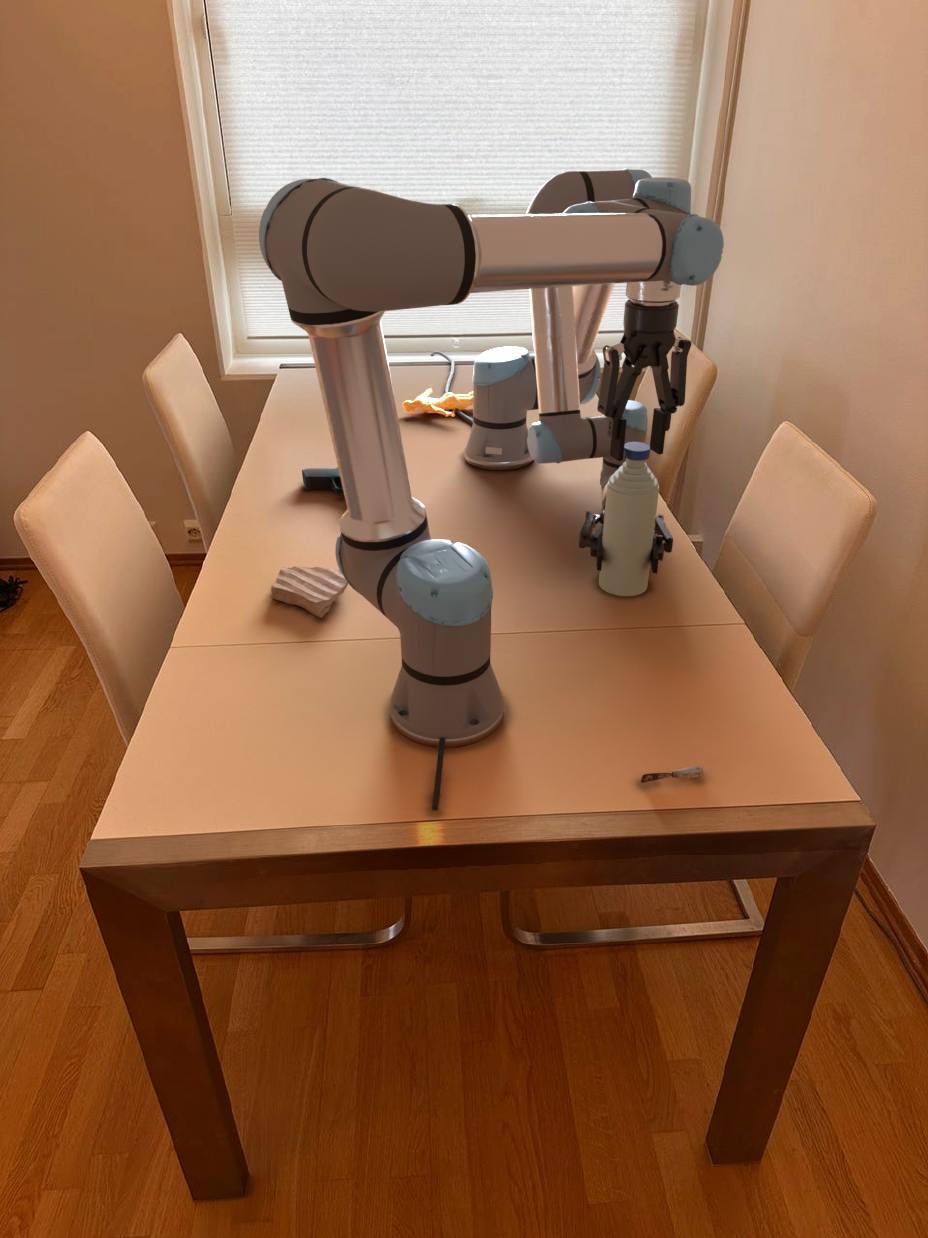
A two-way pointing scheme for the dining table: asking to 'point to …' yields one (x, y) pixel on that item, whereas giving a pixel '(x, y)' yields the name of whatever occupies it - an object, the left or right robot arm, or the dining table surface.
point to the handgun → (323, 479)
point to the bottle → (628, 529)
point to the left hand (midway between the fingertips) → (636, 454)
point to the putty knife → (674, 774)
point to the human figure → (439, 403)
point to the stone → (309, 587)
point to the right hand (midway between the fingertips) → (627, 564)
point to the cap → (636, 451)
